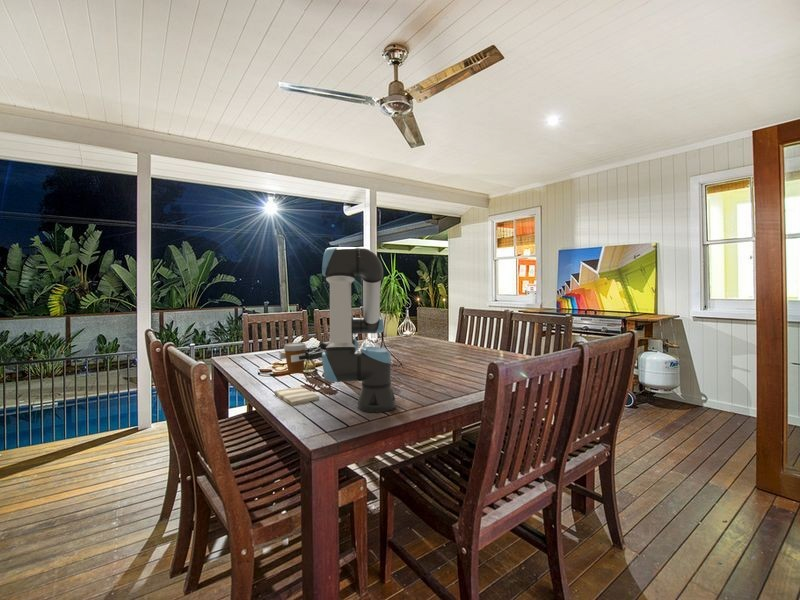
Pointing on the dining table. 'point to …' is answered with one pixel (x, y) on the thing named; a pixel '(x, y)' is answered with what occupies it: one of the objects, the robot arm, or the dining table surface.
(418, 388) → the dining table surface
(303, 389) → the serving board
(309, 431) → the dining table surface
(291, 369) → the disposable coffee cup
